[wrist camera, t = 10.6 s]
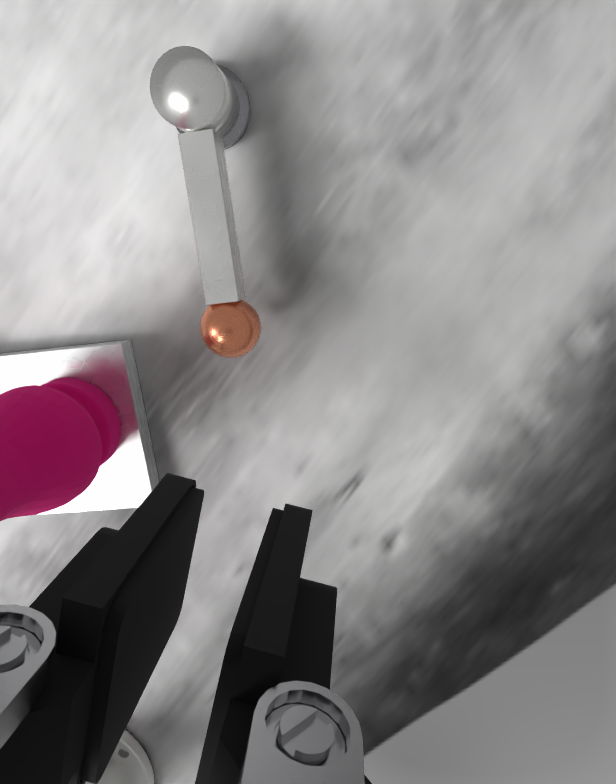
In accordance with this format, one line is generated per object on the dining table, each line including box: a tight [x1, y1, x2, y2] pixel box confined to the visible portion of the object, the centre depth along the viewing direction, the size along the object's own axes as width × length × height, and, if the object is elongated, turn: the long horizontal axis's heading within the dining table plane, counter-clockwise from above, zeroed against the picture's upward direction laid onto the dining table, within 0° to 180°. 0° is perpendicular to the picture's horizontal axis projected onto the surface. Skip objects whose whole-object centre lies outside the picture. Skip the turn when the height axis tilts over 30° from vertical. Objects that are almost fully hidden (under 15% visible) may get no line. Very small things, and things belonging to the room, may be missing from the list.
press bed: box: [0, 65, 250, 514], centre depth 30 cm, size 26×26×13 cm
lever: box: [150, 46, 261, 358], centre depth 31 cm, size 16×4×4 cm, turn 7°
